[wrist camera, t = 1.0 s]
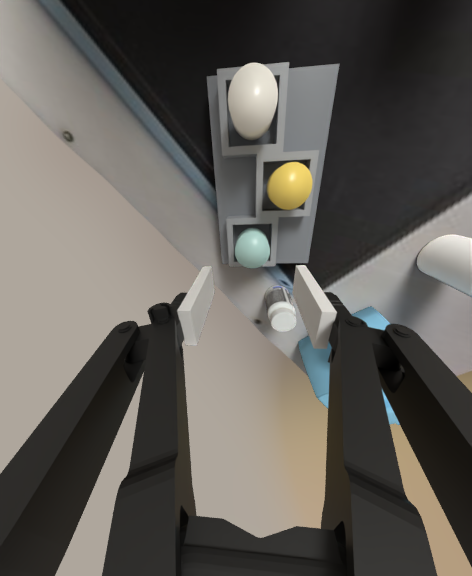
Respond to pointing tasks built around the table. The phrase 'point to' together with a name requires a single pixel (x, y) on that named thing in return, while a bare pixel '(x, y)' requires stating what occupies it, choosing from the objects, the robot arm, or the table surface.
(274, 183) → the button mustard
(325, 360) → the container
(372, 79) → the table surface
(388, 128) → the table surface
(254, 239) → the button teal
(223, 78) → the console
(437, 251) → the spray bottle
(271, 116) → the button ivory
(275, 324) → the pill bottle
